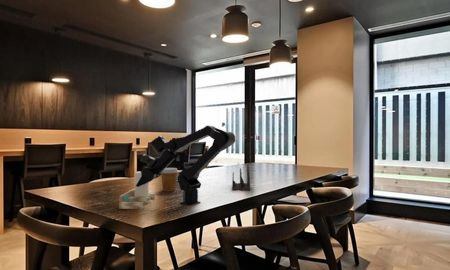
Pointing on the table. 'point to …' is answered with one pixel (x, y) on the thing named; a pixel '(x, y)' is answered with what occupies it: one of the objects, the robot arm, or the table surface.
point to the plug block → (141, 187)
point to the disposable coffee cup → (169, 179)
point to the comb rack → (134, 200)
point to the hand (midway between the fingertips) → (139, 184)
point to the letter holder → (242, 182)
